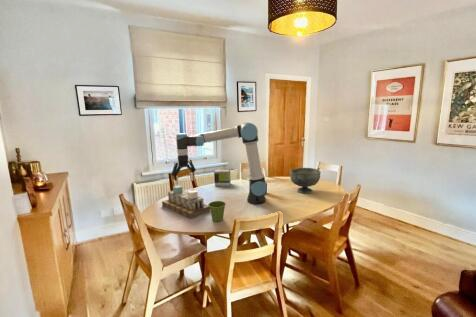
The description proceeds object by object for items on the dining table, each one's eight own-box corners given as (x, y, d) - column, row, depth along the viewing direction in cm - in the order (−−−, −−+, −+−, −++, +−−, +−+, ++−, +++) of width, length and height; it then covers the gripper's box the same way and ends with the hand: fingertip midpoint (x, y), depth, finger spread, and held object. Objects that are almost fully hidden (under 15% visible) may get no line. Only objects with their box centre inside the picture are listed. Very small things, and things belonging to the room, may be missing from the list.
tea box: (230, 183, 255) (230, 169, 252) (229, 186, 245) (229, 171, 242) (216, 183, 256) (215, 169, 254) (214, 186, 247) (214, 171, 244)
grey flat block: (210, 211, 184) (210, 205, 183) (190, 218, 171) (190, 213, 170) (181, 200, 207) (181, 195, 207) (162, 206, 194) (161, 201, 194)
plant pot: (212, 215, 176) (212, 200, 174) (228, 217, 173) (228, 201, 171) (205, 222, 165) (205, 206, 163) (222, 224, 162) (222, 208, 160)
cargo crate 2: (197, 197, 181) (197, 191, 180) (192, 199, 177) (191, 193, 177) (193, 195, 184) (193, 190, 184) (187, 197, 181) (187, 191, 180)
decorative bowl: (326, 192, 222) (326, 170, 219) (307, 198, 208) (307, 175, 205) (303, 186, 244) (303, 166, 241) (284, 191, 230) (284, 170, 227)
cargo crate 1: (182, 192, 193) (182, 186, 193) (177, 193, 190) (176, 188, 189) (178, 190, 197) (178, 185, 196) (173, 192, 193) (172, 186, 192)
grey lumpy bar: (203, 207, 181) (203, 198, 180) (193, 210, 174) (193, 201, 173) (178, 197, 202) (177, 189, 201) (168, 200, 196) (168, 191, 194)
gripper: (193, 151, 193) (194, 178, 197) (164, 156, 175) (167, 185, 179) (199, 152, 188) (200, 179, 192) (170, 157, 170) (173, 187, 174)
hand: (184, 182), depth 185 cm, fingers open, 13 cm apart
